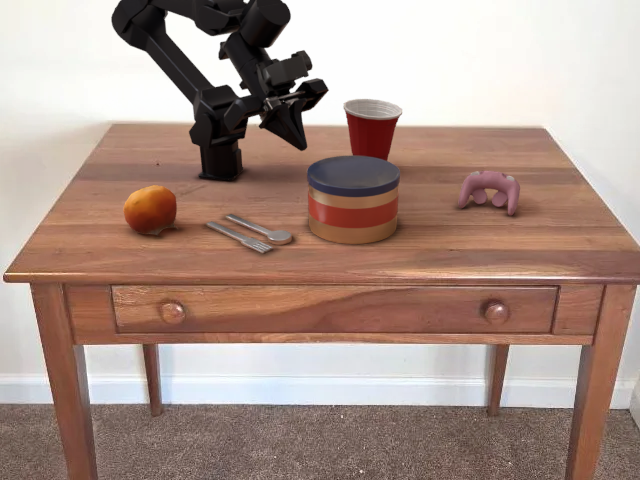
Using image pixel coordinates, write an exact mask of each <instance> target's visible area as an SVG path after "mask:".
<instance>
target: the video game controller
mask: <svg viewBox="0 0 640 480" xmlns="http://www.w3.org/2000/svg"><path fill="white" fill-rule="evenodd" d="M486 190H495V191H496V192H495V193H494V194H493V195H492V197H491V202H492V205H493V206H494V207H496V208H502V207H504V206H505V205H506V203H507V214H508V216H513V215H514V214H515V212H516V210H517V207H518V203H519V199H520V191H521V184H520V183H519V181H518V180H517V179H516V178H514V177H513V176H511V175H509V174H507V173H504V172H500V171H496V170H481V171H480V170H479V171H473V172H471V173H469V174H468V175H467V176H466V177H465V178H464V180H463V182H462V185H461V188H460V191H459V195H458V202H457V203H458V207H459V209H463V208H464V207H466V205H467V203H468V202H469V200H470V197H471V196H472V198H473V201H474V202H475V203H476V204H478V205H484V204H486V202H487V201H488V194H487V192H486Z"/></svg>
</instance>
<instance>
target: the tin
mask: <svg viewBox="0 0 640 480" xmlns="http://www.w3.org/2000/svg"><path fill="white" fill-rule="evenodd" d="M306 180H307V188H308V189H307V190H308V191H307V200H308V202H307V203H308V205H307V206H308V207H307V208H308V227H309V230H310V231H311V232H312V233H313V234H314V235H315V236H317V237H318V238H321V239H323V240H325V241H329V242H332V243H337V244H345V245H346V244H347V245H362V244H370V243H371V244H372V243H375V242H379V241H383V240H385V239H387V238H388V237H391V236H393V235H394V233H395V232H396V230H397V227H398V212H399V194H400V193H399V188H400V182H401V170H400V168H399V167H398V166H397V165H396V164H394V163H392V162H391V161H388V160H387V161H386V160H382V159H379V158H374V157H368V156H354V155H353V154H351V155H339V156H338V155H336V156H329V157H325V158H322V159H319V160H317V161H314V162H313V163H311V164H310V165H309V166H308V167H307V170H306Z"/></svg>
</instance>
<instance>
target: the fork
mask: <svg viewBox="0 0 640 480" xmlns="http://www.w3.org/2000/svg"><path fill="white" fill-rule="evenodd" d="M205 226H206V227H207V228H210V229H211V230H214V231H216V232H217V233H220V234H222V235H225V236H227V237H230V238H231V239H233V240H236V241H237V242H240V244H241V246H244V247H246V248H249V249H251V250H253V251H255V252H258V253H260V254H261V255H263V254H265V253H268V252H270V251H272V250H274V246H272V245H269V244H267V243H265V242H262V241H261V240H259V239H257V238H254V237H249V236H246V235H244V234H242V233H239V232H237V231H235V230H233V229H230V228H228V227H227V226H223V225H221V224H219V223H217V222H214V221H213V220H211V221H209V222H206V223H205Z"/></svg>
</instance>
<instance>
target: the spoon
mask: <svg viewBox="0 0 640 480" xmlns="http://www.w3.org/2000/svg"><path fill="white" fill-rule="evenodd" d="M225 219H226V220H228V221H230V222H233V223H235V224H237V225H240V226H242V227H244V228H246V229H249V230H250V231H253V232H255V233H258V234H260V235H262V236H265V237H267V242H268V243H270V244H272V245H276V246H277V245H278V246H281V245H287V244H289V243H290V242H291V241H292V232H290V231H288V230H284V229H278V230H277V229H276V230H270V229H267V228H265V227H263V226H260V225H259V224H256V223H254V222H251V221H249V220H247V219H244V218H242V217H240V216H237V215H235V214H233V213H230V214H227V215H225Z"/></svg>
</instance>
